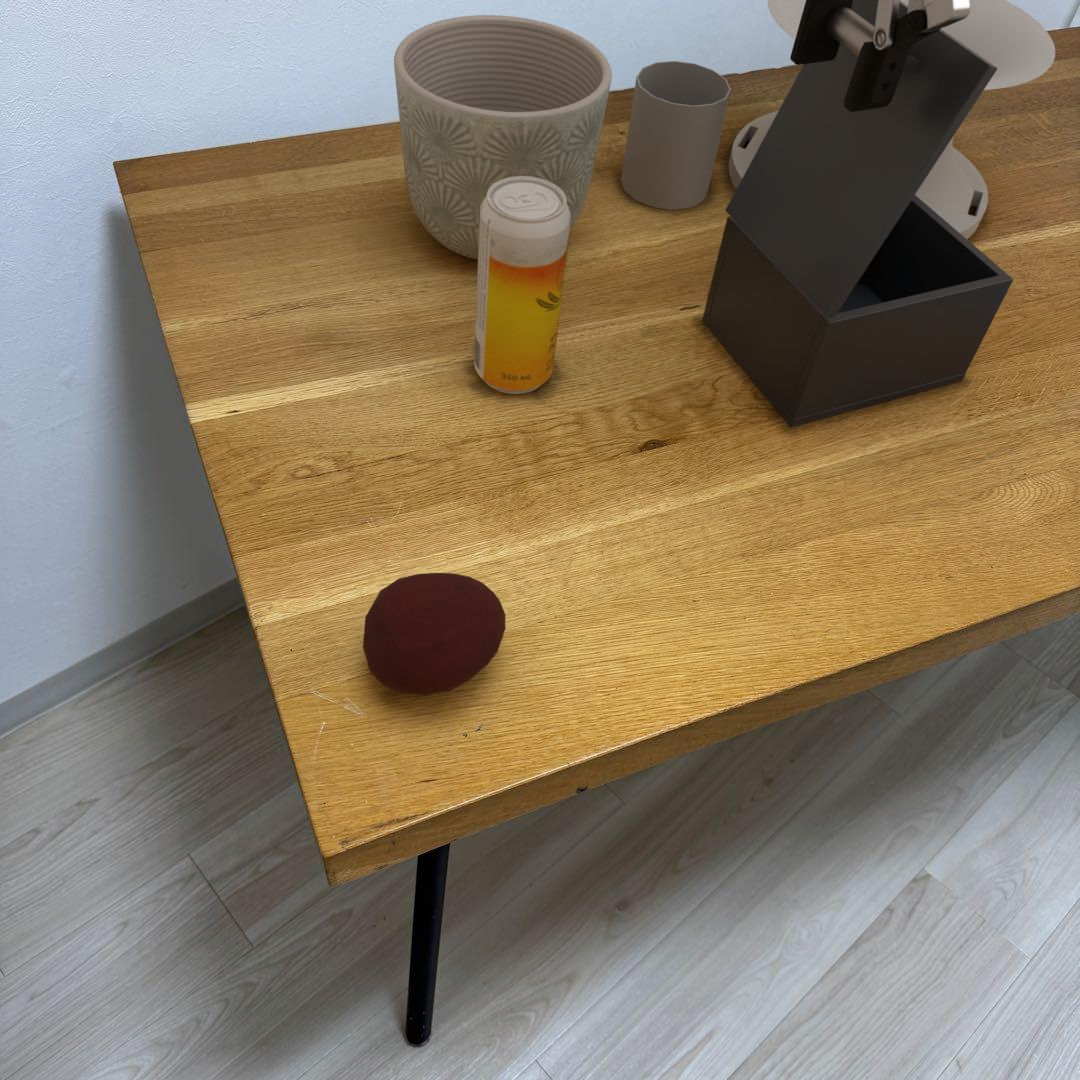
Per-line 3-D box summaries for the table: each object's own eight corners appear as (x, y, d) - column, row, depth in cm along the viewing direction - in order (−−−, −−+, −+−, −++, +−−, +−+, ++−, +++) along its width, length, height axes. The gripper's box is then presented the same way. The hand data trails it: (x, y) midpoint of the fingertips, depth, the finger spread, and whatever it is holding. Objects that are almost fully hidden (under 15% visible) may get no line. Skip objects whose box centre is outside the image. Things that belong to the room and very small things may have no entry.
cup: (722, 182, 100) (745, 81, 92) (684, 219, 95) (705, 116, 87) (646, 153, 102) (663, 52, 95) (605, 188, 98) (619, 84, 90)
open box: (863, 284, 91) (902, 183, 83) (962, 381, 83) (1014, 279, 75) (701, 320, 85) (727, 216, 78) (790, 427, 78) (828, 323, 70)
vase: (947, 131, 110) (1009, -24, 99) (1012, 268, 94) (1095, 102, 82) (717, 111, 109) (752, -48, 97) (743, 246, 93) (788, 75, 81)
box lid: (861, -27, 67) (808, -48, 64) (998, 68, 59) (944, 49, 57) (732, 211, 78) (682, 202, 75) (834, 318, 70) (782, 312, 67)
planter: (437, 166, 98) (437, -2, 86) (609, 205, 96) (633, 39, 84) (368, 262, 87) (359, 85, 75) (561, 309, 85) (581, 134, 73)
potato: (526, 680, 61) (535, 610, 56) (396, 739, 58) (392, 671, 53) (468, 592, 65) (471, 519, 60) (344, 643, 62) (335, 571, 57)
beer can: (564, 390, 78) (586, 215, 67) (489, 405, 77) (499, 229, 65) (535, 341, 82) (552, 167, 70) (463, 355, 80) (468, 179, 69)
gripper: (1135, -225, 47) (971, 146, 61) (909, -324, 56) (812, 16, 70) (1009, -221, 44) (868, 164, 58) (795, -325, 54) (718, 27, 68)
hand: (839, 80), depth 64 cm, fingers open, 5 cm apart
